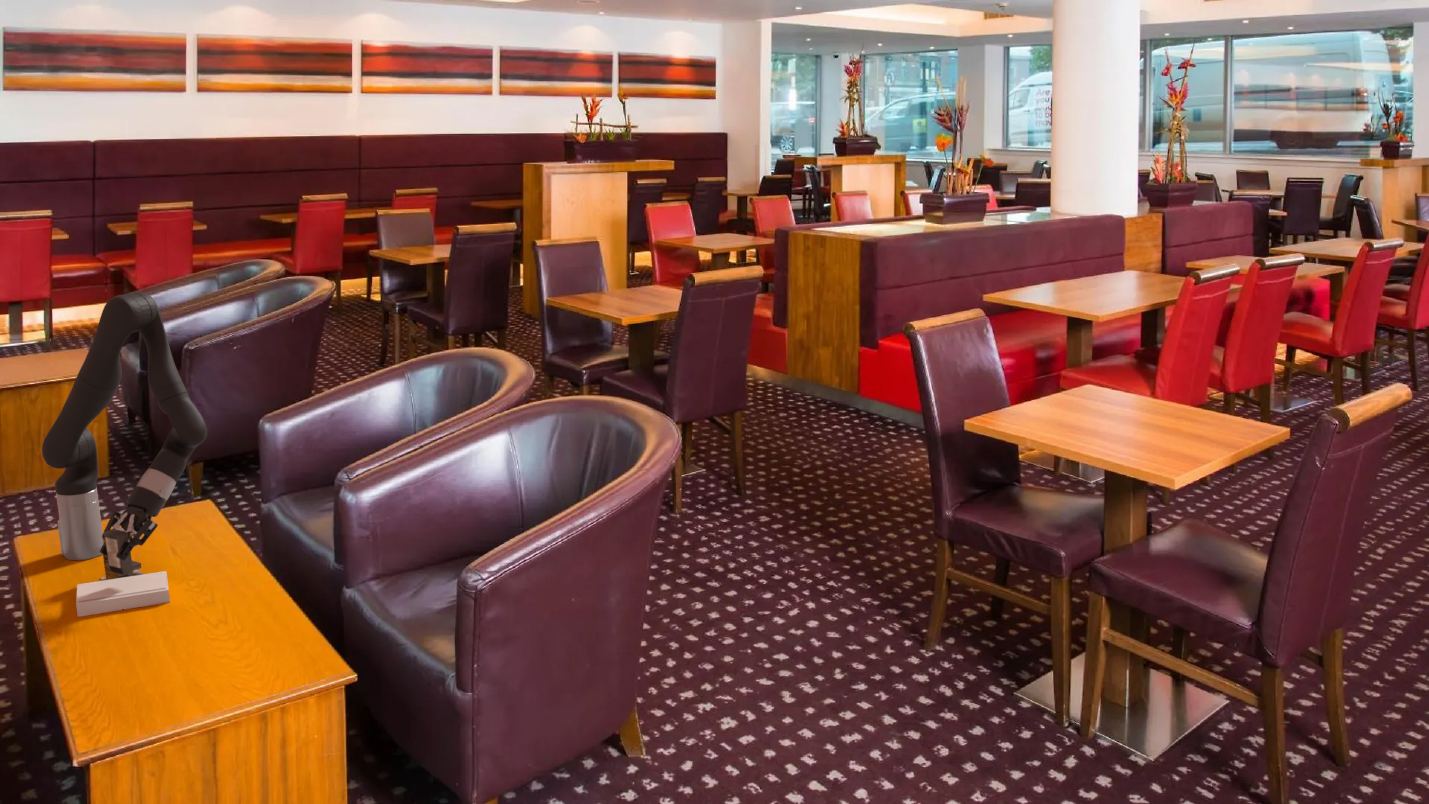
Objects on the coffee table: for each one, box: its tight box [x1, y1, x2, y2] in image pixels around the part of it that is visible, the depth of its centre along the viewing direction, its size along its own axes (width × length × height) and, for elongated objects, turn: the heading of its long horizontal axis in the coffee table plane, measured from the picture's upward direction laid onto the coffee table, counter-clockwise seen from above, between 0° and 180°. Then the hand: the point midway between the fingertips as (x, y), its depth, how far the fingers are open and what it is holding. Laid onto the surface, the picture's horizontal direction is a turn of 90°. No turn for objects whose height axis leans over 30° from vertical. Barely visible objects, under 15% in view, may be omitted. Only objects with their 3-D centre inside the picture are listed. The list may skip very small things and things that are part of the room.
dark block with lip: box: [103, 528, 142, 575], centre depth 279 cm, size 6×5×10 cm
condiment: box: [99, 532, 145, 581], centre depth 293 cm, size 7×8×12 cm
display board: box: [75, 570, 171, 618], centre depth 281 cm, size 19×13×3 cm
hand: (111, 556), depth 277 cm, fingers closed on dark block with lip, 5 cm apart
